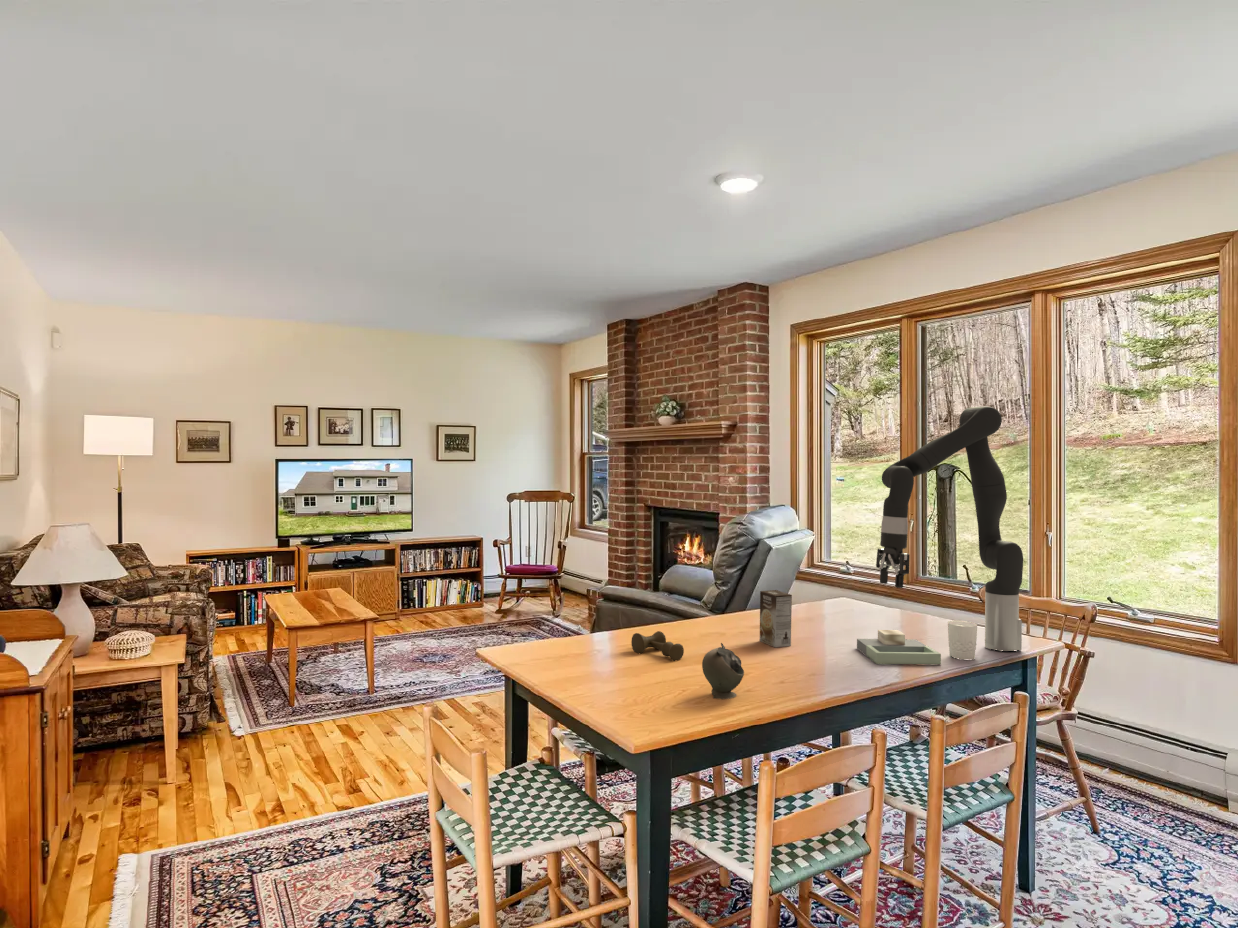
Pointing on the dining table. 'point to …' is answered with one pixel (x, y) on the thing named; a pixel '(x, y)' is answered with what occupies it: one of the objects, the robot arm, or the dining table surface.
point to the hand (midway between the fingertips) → (891, 585)
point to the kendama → (657, 645)
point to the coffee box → (775, 618)
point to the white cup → (962, 639)
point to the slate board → (891, 646)
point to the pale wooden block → (891, 637)
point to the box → (904, 656)
